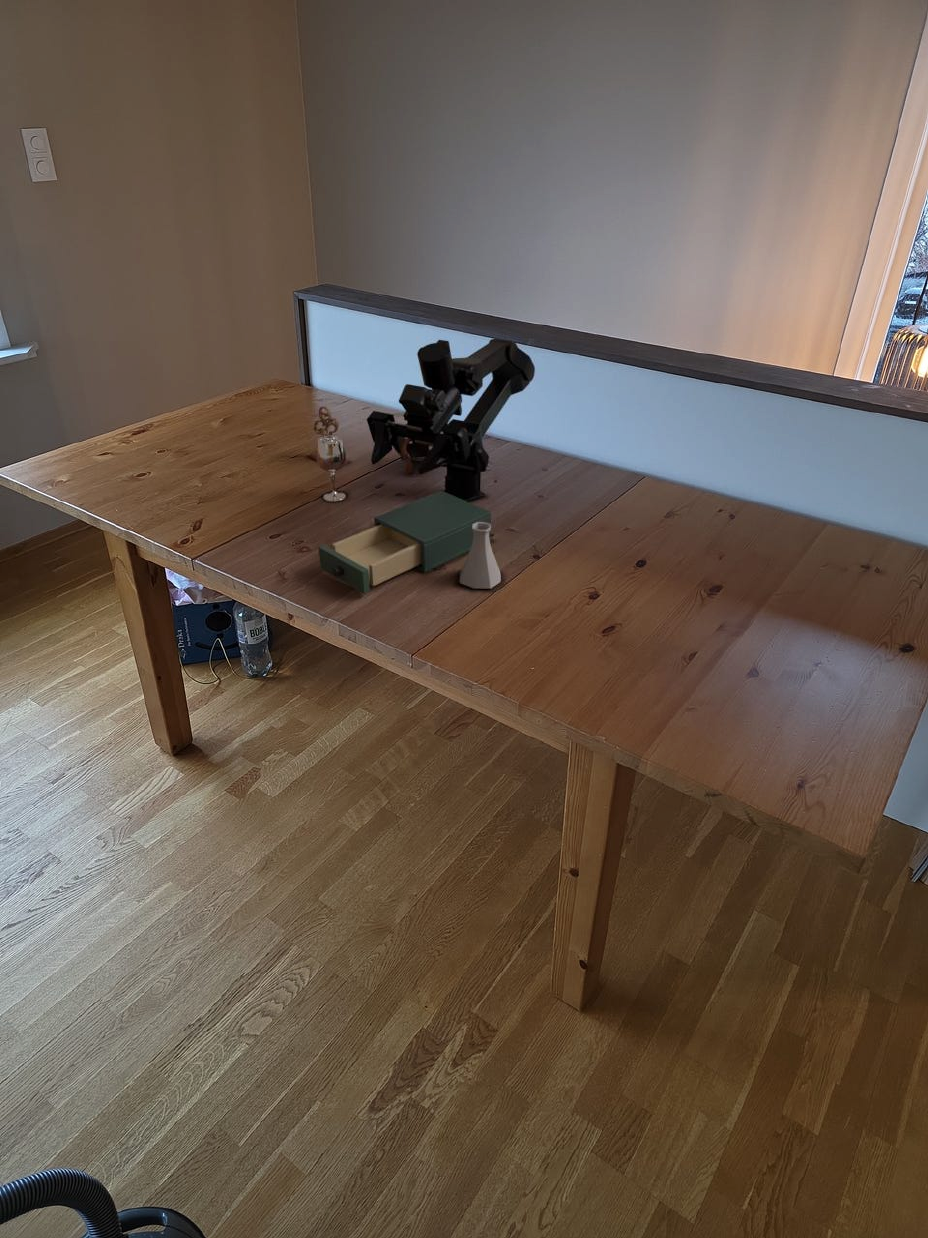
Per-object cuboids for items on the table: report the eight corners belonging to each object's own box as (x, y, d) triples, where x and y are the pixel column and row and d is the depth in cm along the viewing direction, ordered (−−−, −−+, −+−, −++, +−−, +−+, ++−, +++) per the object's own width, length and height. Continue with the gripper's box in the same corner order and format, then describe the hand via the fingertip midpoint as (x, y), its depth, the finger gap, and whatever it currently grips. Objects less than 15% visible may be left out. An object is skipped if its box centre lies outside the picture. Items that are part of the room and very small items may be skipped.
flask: (506, 572, 137) (509, 520, 131) (494, 593, 131) (496, 539, 126) (466, 565, 139) (467, 513, 133) (452, 585, 133) (452, 532, 128)
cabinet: (424, 572, 137) (424, 542, 133) (375, 546, 144) (374, 517, 141) (490, 541, 146) (491, 511, 143) (441, 518, 154) (441, 490, 151)
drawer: (358, 597, 128) (356, 574, 126) (314, 571, 135) (312, 549, 133) (433, 561, 138) (433, 540, 136) (389, 538, 145) (388, 518, 143)
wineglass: (343, 504, 159) (338, 446, 152) (316, 501, 160) (310, 443, 153) (352, 492, 164) (348, 435, 157) (325, 489, 165) (320, 433, 158)
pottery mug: (448, 463, 178) (448, 439, 170) (427, 494, 174) (426, 471, 167) (402, 441, 180) (400, 417, 173) (380, 471, 177) (377, 447, 169)
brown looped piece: (309, 456, 179) (304, 404, 173) (323, 452, 182) (318, 399, 175) (334, 467, 174) (330, 413, 168) (348, 462, 176) (344, 409, 170)
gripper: (381, 364, 140) (336, 420, 133) (477, 380, 133) (435, 439, 126) (395, 415, 149) (353, 470, 141) (485, 432, 142) (447, 491, 134)
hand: (395, 467), depth 135 cm, fingers open, 9 cm apart
